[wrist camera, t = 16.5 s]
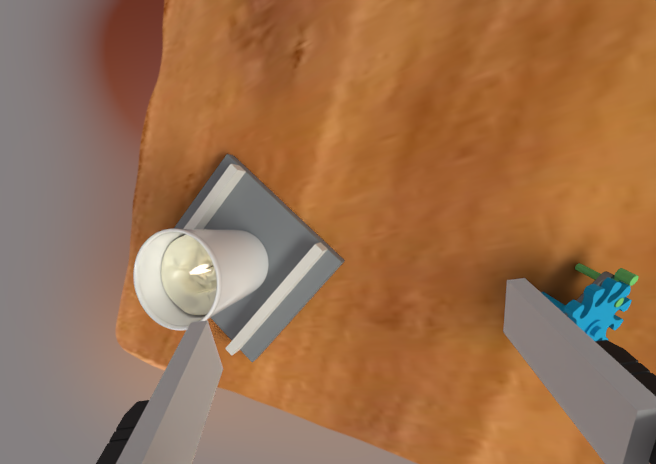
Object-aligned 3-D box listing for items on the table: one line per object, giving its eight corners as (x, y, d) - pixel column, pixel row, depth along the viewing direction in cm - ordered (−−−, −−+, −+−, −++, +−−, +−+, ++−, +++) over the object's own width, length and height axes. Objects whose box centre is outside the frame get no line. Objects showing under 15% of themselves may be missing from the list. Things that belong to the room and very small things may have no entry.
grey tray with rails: (161, 254, 50) (142, 258, 47) (233, 155, 46) (217, 151, 43) (257, 357, 47) (244, 369, 43) (344, 260, 43) (337, 265, 39)
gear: (575, 386, 35) (542, 358, 29) (524, 345, 40) (488, 314, 34) (655, 303, 34) (637, 257, 28) (593, 271, 39) (567, 227, 33)
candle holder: (220, 211, 45) (148, 212, 34) (286, 242, 43) (232, 254, 32) (197, 280, 47) (121, 302, 35) (259, 313, 45) (199, 348, 33)
